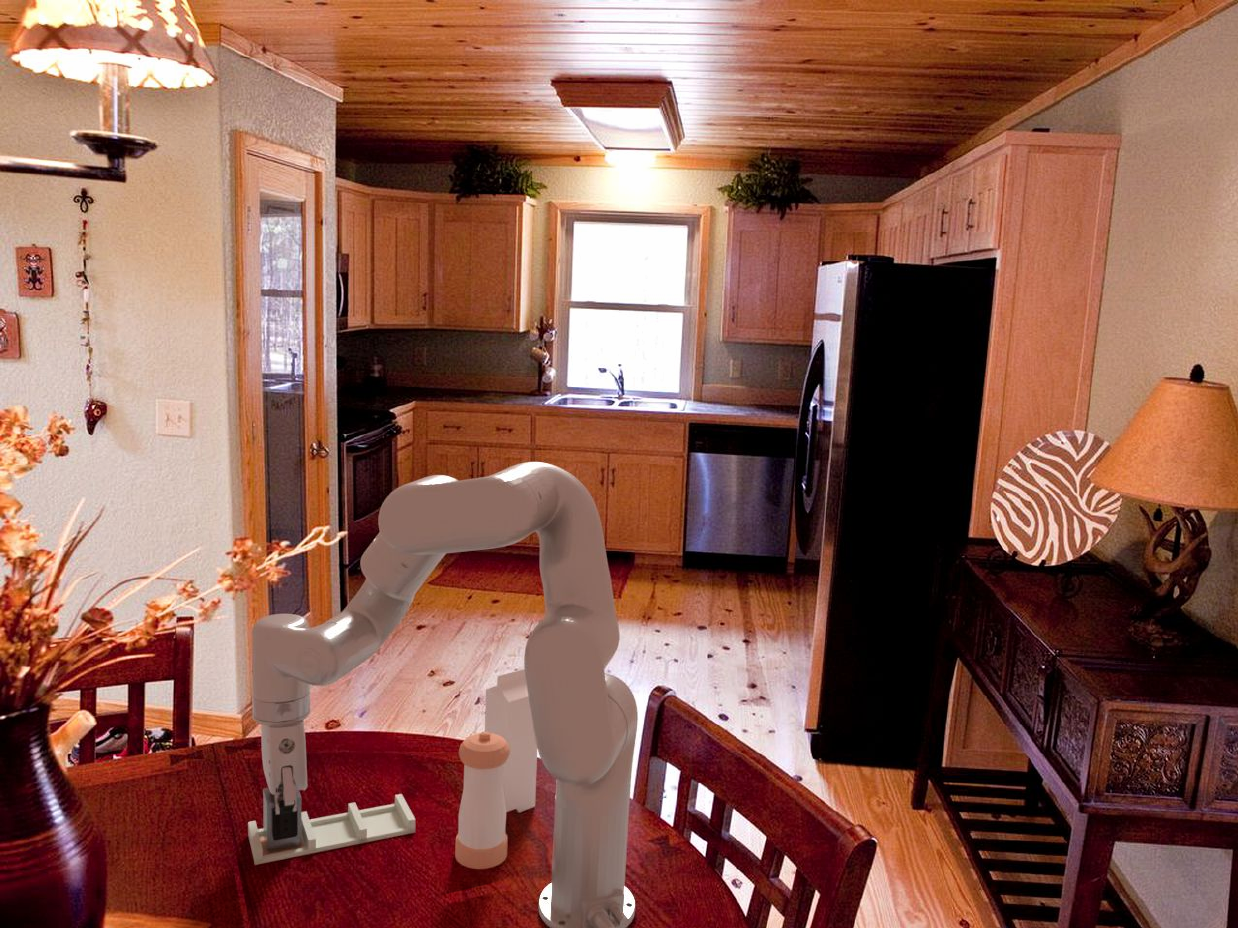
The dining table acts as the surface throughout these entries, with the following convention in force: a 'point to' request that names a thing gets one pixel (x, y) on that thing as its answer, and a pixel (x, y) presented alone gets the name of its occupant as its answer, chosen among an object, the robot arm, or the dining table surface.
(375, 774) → the dining table surface
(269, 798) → the tall gray pillar
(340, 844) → the white compartment tray
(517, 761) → the milk
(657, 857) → the dining table surface
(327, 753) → the dining table surface
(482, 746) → the pepper shaker
